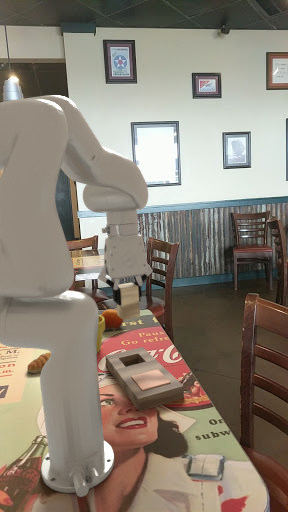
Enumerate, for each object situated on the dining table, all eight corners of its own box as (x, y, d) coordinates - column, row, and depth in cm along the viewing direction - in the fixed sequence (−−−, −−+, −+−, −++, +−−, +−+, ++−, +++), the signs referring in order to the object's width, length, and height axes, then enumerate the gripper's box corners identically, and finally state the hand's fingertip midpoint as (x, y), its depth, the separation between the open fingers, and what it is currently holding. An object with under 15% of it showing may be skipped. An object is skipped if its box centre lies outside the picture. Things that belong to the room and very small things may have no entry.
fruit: (95, 330, 126) (98, 306, 129) (103, 333, 133) (106, 311, 136) (117, 331, 124) (120, 307, 126) (125, 335, 131) (128, 312, 134)
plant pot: (101, 359, 108) (98, 326, 106) (67, 358, 109) (63, 326, 108) (110, 344, 118) (108, 314, 116) (78, 343, 119) (76, 314, 118)
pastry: (34, 378, 99) (33, 364, 99) (23, 370, 104) (21, 357, 103) (65, 365, 105) (64, 352, 105) (53, 358, 110) (51, 346, 110)
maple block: (140, 316, 96) (138, 286, 94) (123, 320, 94) (121, 289, 93) (133, 311, 100) (131, 282, 98) (117, 315, 98) (115, 285, 97)
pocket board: (184, 398, 85) (183, 384, 85) (139, 411, 81) (138, 397, 81) (143, 357, 107) (142, 346, 107) (106, 366, 103) (105, 354, 103)
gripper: (93, 235, 86) (99, 311, 90) (160, 228, 93) (164, 300, 96) (85, 232, 93) (91, 303, 97) (148, 226, 100) (152, 293, 103)
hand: (127, 301), depth 96 cm, fingers closed on maple block, 4 cm apart
